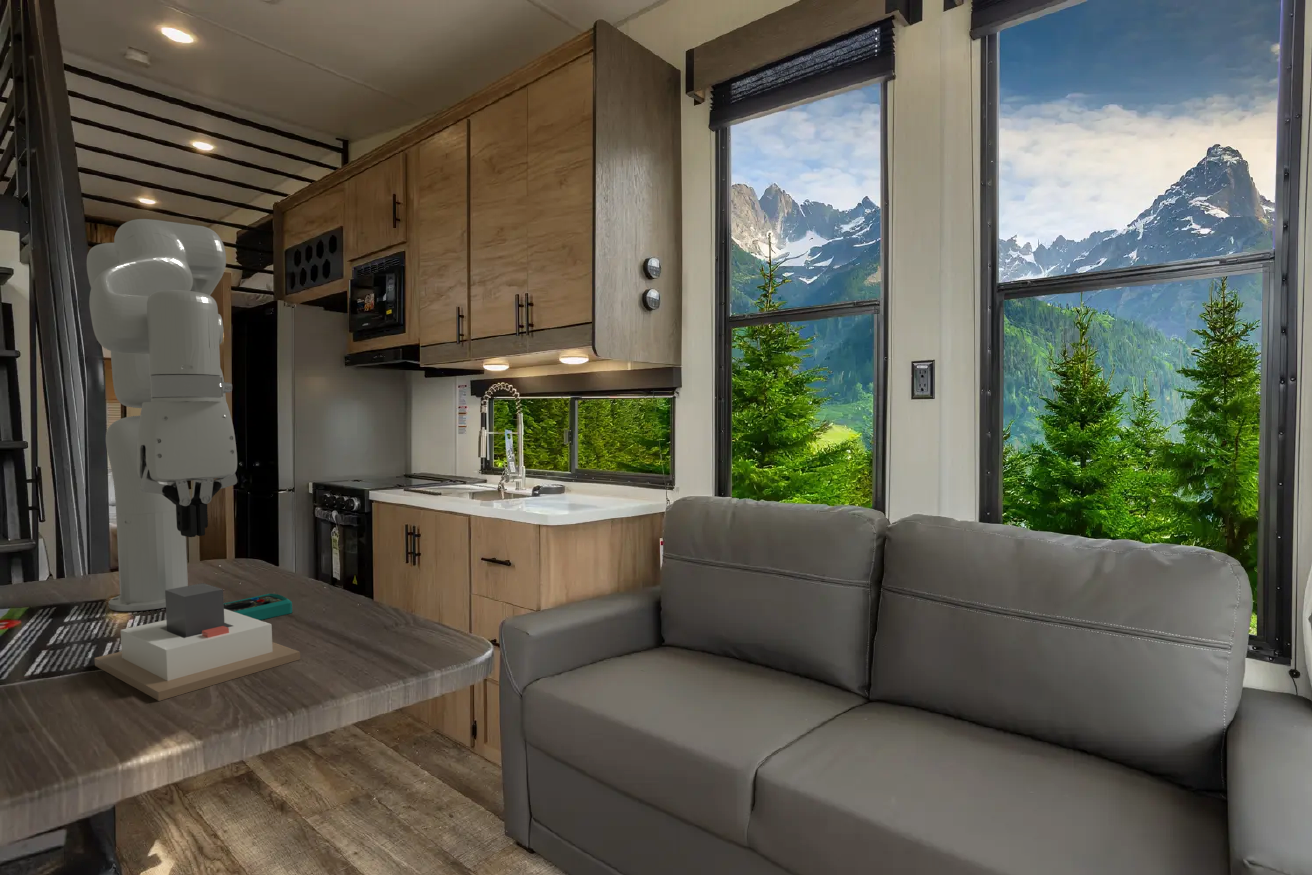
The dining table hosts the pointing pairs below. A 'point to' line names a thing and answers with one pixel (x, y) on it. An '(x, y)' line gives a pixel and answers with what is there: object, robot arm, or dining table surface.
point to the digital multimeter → (261, 606)
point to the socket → (194, 656)
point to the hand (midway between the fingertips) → (192, 535)
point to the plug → (194, 609)
